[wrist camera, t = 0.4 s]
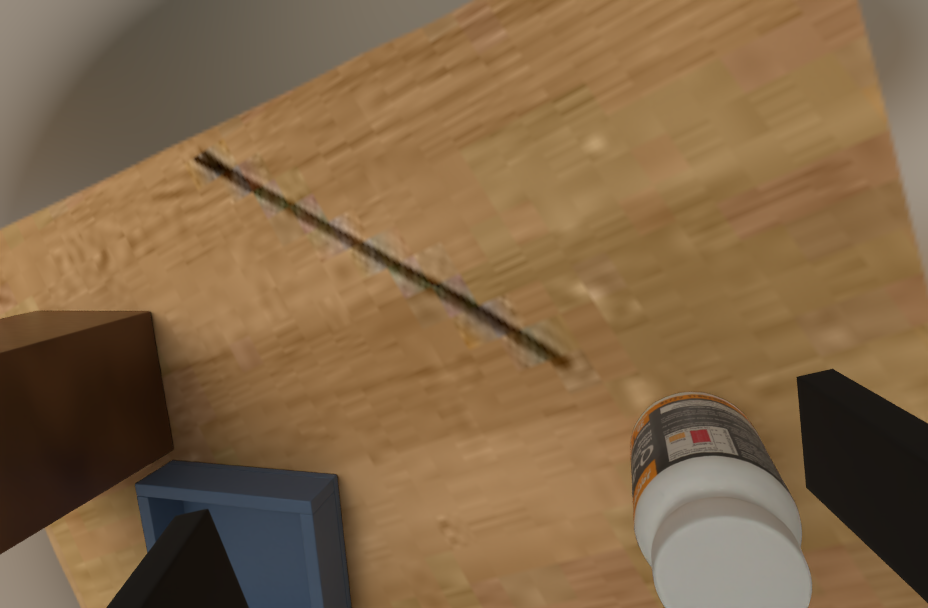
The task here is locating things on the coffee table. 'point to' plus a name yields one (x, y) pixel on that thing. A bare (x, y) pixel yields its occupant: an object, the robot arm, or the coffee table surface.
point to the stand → (74, 412)
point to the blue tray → (260, 527)
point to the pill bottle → (714, 509)
